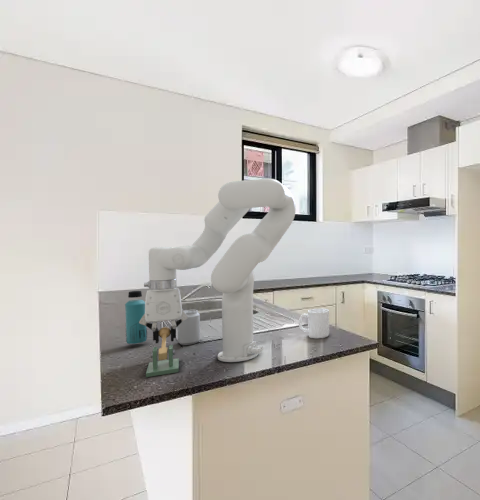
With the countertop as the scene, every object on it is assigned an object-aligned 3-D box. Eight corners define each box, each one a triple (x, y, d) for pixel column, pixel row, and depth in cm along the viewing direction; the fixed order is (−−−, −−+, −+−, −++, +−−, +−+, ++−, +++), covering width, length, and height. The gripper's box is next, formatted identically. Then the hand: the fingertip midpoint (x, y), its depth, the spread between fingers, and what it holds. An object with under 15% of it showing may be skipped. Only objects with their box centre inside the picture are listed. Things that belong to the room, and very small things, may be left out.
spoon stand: (149, 366, 108) (148, 345, 108) (179, 361, 112) (178, 341, 112) (145, 377, 99) (145, 354, 99) (178, 372, 103) (178, 350, 103)
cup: (327, 338, 137) (327, 312, 136) (296, 338, 137) (296, 312, 136) (330, 332, 145) (330, 308, 145) (301, 333, 145) (300, 308, 145)
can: (198, 344, 130) (197, 312, 130) (175, 346, 128) (174, 313, 127) (202, 339, 137) (201, 308, 137) (180, 340, 135) (179, 309, 135)
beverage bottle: (139, 348, 126) (138, 292, 126) (121, 348, 126) (119, 292, 126) (151, 342, 133) (150, 289, 132) (134, 342, 133) (132, 289, 132)
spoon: (158, 335, 116) (158, 325, 115) (171, 333, 118) (171, 324, 117) (156, 362, 104) (155, 352, 103) (170, 360, 106) (169, 350, 104)
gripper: (130, 288, 107) (132, 348, 108) (192, 284, 115) (193, 340, 116) (133, 285, 114) (135, 342, 114) (192, 282, 122) (193, 335, 122)
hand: (164, 340), depth 115 cm, fingers closed on spoon, 3 cm apart
